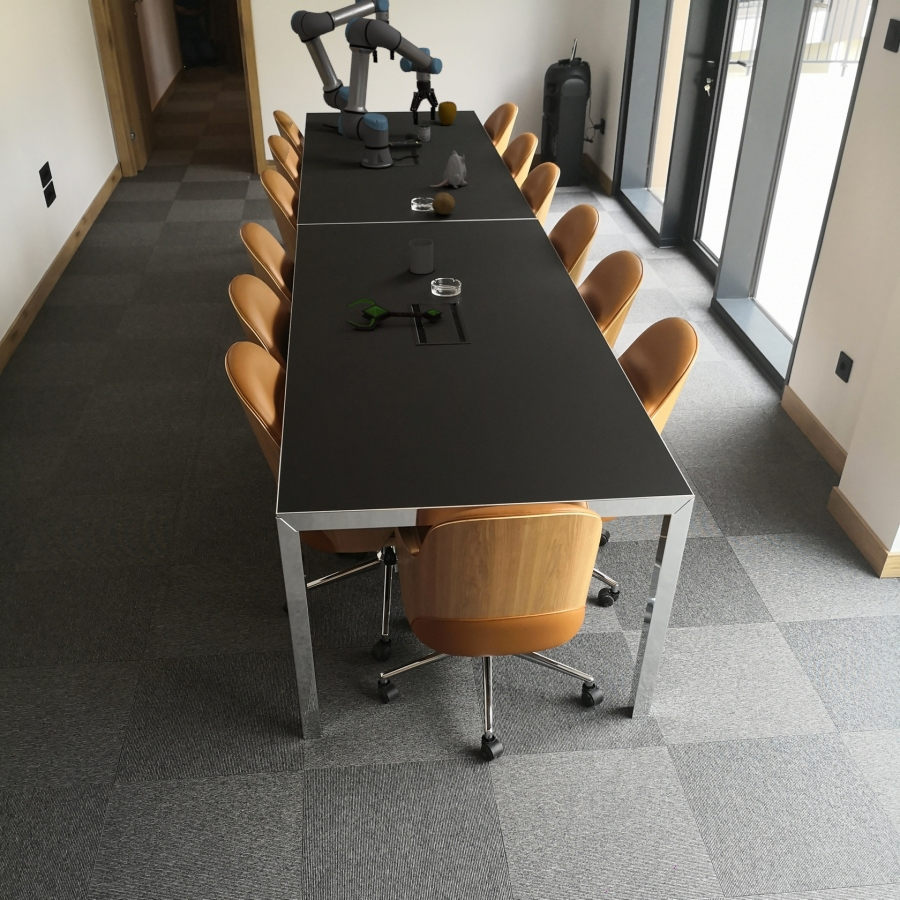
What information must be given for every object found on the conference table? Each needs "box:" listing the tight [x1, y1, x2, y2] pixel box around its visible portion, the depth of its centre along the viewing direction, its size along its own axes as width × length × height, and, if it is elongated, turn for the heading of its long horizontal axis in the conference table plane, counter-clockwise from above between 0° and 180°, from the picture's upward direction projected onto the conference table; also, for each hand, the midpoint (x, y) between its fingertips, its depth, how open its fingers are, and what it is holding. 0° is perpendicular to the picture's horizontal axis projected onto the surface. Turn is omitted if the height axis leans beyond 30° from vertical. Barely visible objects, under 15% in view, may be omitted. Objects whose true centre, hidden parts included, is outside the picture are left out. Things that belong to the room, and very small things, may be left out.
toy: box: [428, 149, 468, 189], centre depth 390 cm, size 9×24×15 cm, turn 137°
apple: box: [437, 100, 458, 126], centre depth 500 cm, size 11×11×13 cm
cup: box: [408, 237, 434, 275], centre depth 305 cm, size 8×8×10 cm
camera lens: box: [418, 124, 431, 143], centre depth 469 cm, size 6×6×8 cm
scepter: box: [345, 298, 443, 331], centre depth 269 cm, size 6×13×30 cm
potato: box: [431, 192, 456, 216], centre depth 360 cm, size 10×14×8 cm
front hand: (424, 122), depth 466 cm, fingers open, 13 cm apart
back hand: (383, 61), depth 494 cm, fingers open, 13 cm apart
